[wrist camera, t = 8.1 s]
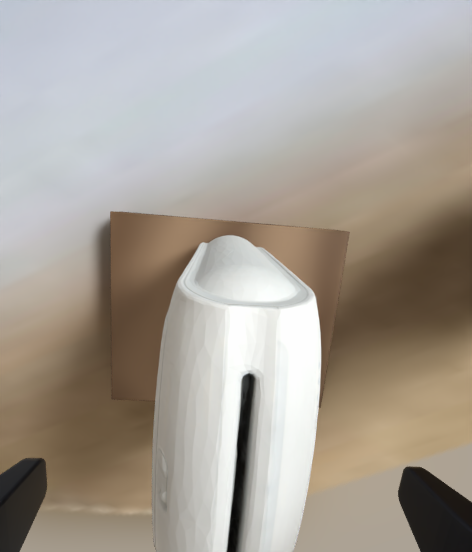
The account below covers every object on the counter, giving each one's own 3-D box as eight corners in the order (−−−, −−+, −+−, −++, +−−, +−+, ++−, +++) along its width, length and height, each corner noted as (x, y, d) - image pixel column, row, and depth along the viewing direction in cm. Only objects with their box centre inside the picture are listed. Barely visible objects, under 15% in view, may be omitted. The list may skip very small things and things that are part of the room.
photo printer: (252, 392, 19) (307, 705, 7) (187, 389, 19) (125, 711, 7) (268, 237, 17) (392, 297, 5) (196, 231, 16) (128, 278, 4)
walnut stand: (336, 230, 19) (349, 231, 17) (311, 389, 21) (320, 407, 19) (122, 211, 18) (110, 211, 16) (122, 381, 20) (111, 399, 18)
